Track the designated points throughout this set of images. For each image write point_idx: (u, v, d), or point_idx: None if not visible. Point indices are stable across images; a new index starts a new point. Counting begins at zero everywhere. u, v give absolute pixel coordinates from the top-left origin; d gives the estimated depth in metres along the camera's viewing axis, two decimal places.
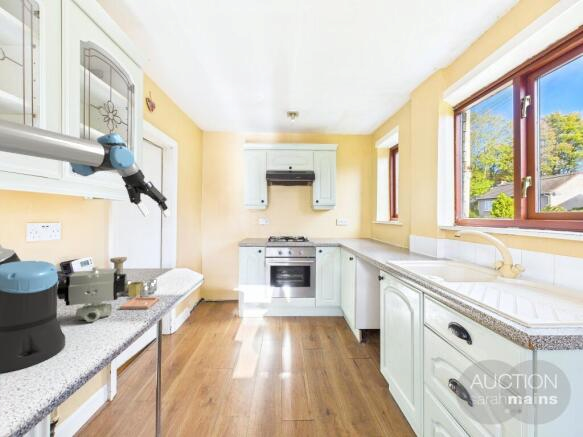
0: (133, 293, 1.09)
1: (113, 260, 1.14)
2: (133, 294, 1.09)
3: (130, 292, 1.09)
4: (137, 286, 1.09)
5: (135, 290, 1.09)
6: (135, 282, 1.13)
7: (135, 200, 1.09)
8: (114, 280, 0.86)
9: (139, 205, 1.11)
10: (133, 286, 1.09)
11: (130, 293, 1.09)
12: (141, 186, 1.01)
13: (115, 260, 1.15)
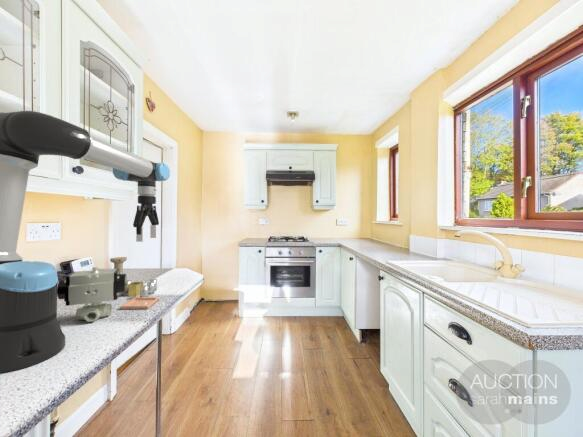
0: (133, 293, 1.09)
1: (113, 260, 1.14)
2: (133, 294, 1.09)
3: (130, 292, 1.09)
4: (137, 286, 1.09)
5: (135, 290, 1.09)
6: (135, 282, 1.13)
7: None
8: (114, 280, 0.86)
9: (151, 226, 1.26)
10: (133, 286, 1.09)
11: (130, 293, 1.09)
12: None
13: (115, 260, 1.15)
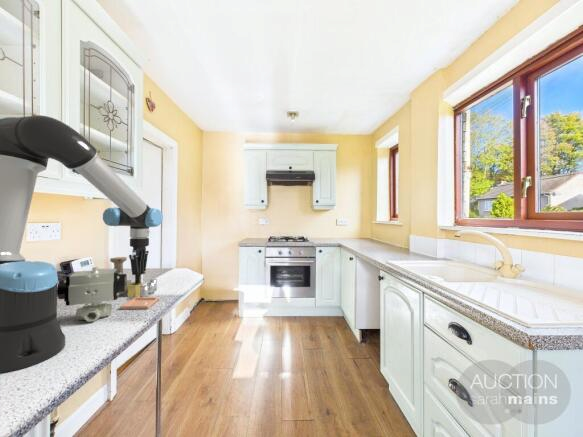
0: (133, 293, 1.08)
1: (113, 260, 1.14)
2: (132, 294, 1.08)
3: (129, 292, 1.08)
4: (136, 286, 1.09)
5: (134, 290, 1.08)
6: (134, 282, 1.12)
7: None
8: (114, 280, 0.86)
9: None
10: (132, 286, 1.08)
11: (129, 293, 1.08)
12: None
13: (115, 260, 1.15)
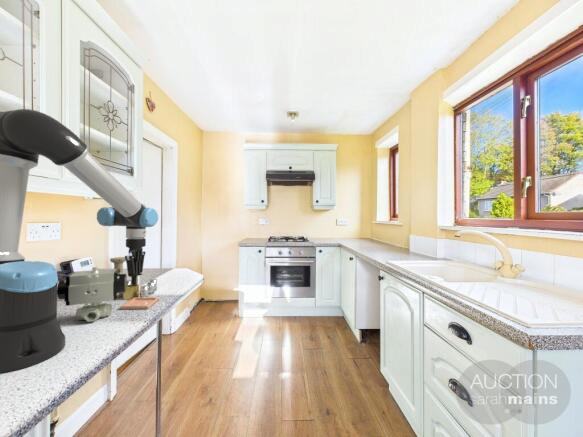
0: (129, 296, 1.05)
1: (113, 260, 1.14)
2: (128, 297, 1.05)
3: (125, 295, 1.05)
4: (132, 289, 1.05)
5: (130, 293, 1.05)
6: (130, 284, 1.09)
7: None
8: (114, 280, 0.86)
9: None
10: (128, 289, 1.05)
11: (125, 296, 1.05)
12: None
13: (115, 260, 1.15)
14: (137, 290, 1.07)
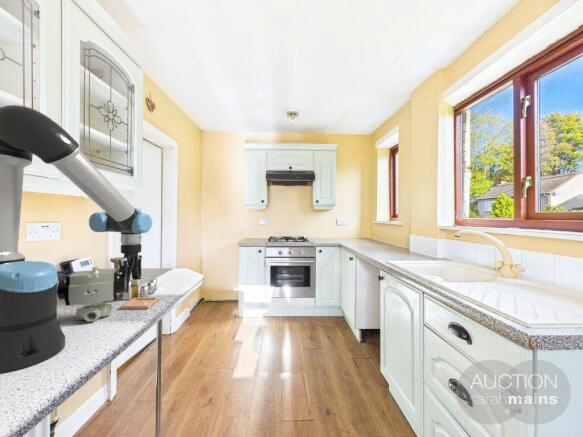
0: None
1: (113, 260, 1.14)
2: None
3: None
4: (132, 289, 1.05)
5: None
6: None
7: None
8: (114, 280, 0.86)
9: (132, 282, 1.10)
10: None
11: None
12: None
13: (115, 260, 1.15)
14: (137, 290, 1.07)
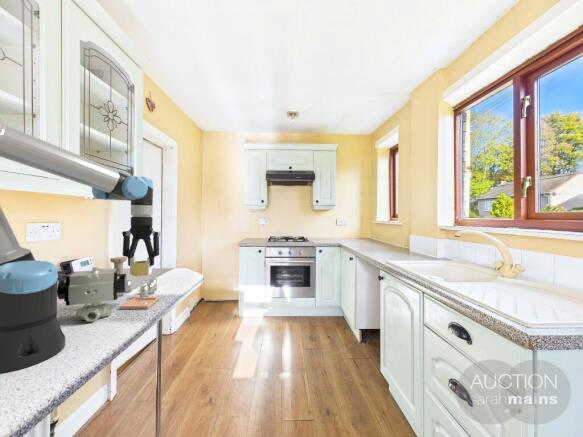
0: None
1: (113, 260, 1.14)
2: None
3: None
4: None
5: None
6: (136, 262, 0.98)
7: (131, 251, 0.98)
8: (114, 280, 0.86)
9: (132, 260, 0.98)
10: None
11: None
12: (148, 231, 0.98)
13: (115, 260, 1.15)
14: None
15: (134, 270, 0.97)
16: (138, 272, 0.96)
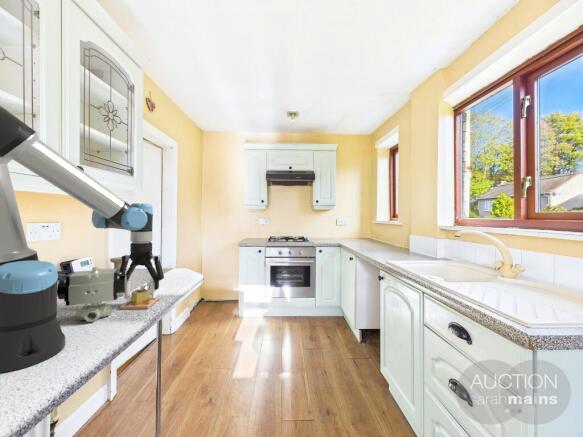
0: (148, 299, 1.00)
1: (113, 260, 1.14)
2: (148, 300, 1.00)
3: (146, 299, 0.99)
4: None
5: (149, 295, 1.01)
6: (135, 291, 0.98)
7: None
8: (114, 280, 0.86)
9: (127, 284, 0.98)
10: (148, 292, 1.00)
11: (146, 300, 0.99)
12: (148, 257, 0.98)
13: (115, 260, 1.15)
14: None
15: (134, 300, 0.97)
16: (138, 302, 0.96)
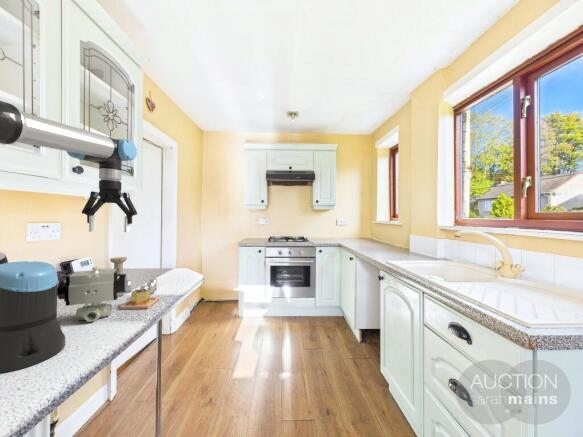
0: (148, 299, 1.00)
1: (113, 260, 1.14)
2: (148, 300, 1.00)
3: (146, 299, 0.99)
4: None
5: (149, 295, 1.01)
6: (135, 291, 0.98)
7: (91, 210, 1.00)
8: (114, 280, 0.86)
9: (92, 217, 1.01)
10: (148, 292, 1.00)
11: (146, 300, 0.99)
12: (116, 194, 1.01)
13: (115, 260, 1.15)
14: None
15: (134, 300, 0.97)
16: (138, 302, 0.96)
